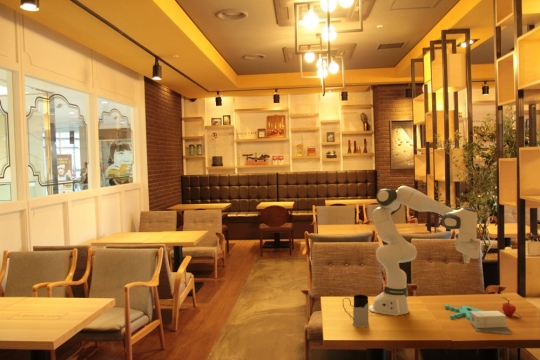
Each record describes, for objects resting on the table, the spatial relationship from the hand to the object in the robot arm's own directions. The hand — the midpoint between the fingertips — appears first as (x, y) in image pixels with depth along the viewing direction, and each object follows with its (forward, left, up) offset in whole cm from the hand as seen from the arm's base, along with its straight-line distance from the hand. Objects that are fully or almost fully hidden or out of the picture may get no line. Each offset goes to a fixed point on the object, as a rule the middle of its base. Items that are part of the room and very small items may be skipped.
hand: (466, 262), depth 256 cm
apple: (+23, +13, -32) cm, 41 cm away
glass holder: (-57, -23, -32) cm, 69 cm away
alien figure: (+1, +9, -32) cm, 33 cm away
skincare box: (+2, -10, -28) cm, 29 cm away
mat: (+11, -11, -31) cm, 35 cm away
